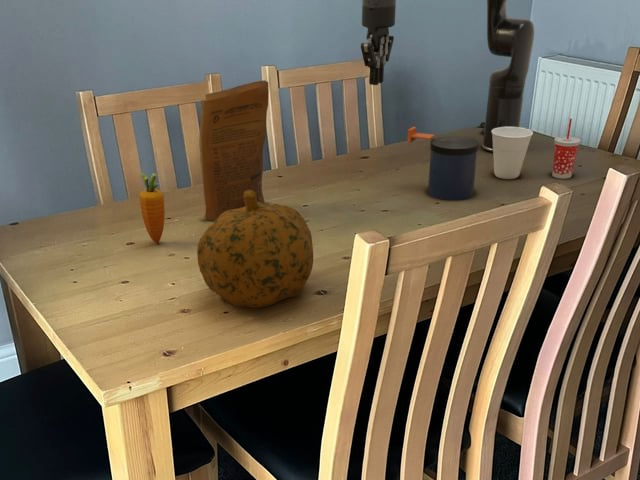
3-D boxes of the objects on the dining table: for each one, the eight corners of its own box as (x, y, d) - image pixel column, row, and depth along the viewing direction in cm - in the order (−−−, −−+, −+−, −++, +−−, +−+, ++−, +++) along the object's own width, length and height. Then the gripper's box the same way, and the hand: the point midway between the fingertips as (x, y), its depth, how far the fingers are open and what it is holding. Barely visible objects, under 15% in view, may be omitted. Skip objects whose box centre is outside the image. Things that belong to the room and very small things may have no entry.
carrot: (142, 241, 167) (133, 171, 159) (165, 237, 168) (157, 167, 160) (148, 249, 163) (139, 178, 155) (171, 245, 164) (164, 174, 156)
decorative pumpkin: (344, 294, 141) (334, 185, 130) (243, 335, 132) (224, 222, 122) (283, 261, 156) (270, 161, 145) (189, 297, 147) (168, 193, 137)
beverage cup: (556, 170, 202) (565, 114, 195) (578, 175, 198) (588, 118, 191) (544, 176, 198) (552, 119, 191) (567, 181, 195) (576, 123, 187)
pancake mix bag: (280, 207, 183) (277, 80, 168) (211, 227, 173) (201, 94, 158) (263, 200, 187) (259, 76, 173) (194, 218, 178) (183, 88, 163)
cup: (531, 181, 195) (537, 136, 189) (490, 182, 195) (495, 137, 189) (521, 169, 203) (527, 126, 198) (483, 170, 204) (487, 126, 198)
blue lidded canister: (419, 196, 188) (423, 145, 181) (437, 182, 196) (440, 133, 189) (464, 203, 183) (469, 151, 176) (480, 189, 191) (485, 139, 184)
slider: (407, 142, 187) (407, 129, 186) (412, 139, 190) (413, 126, 188) (429, 145, 185) (430, 132, 183) (434, 142, 187) (435, 129, 185)
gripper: (376, -1, 185) (374, 77, 194) (350, 6, 175) (348, 87, 184) (406, 0, 182) (402, 79, 191) (381, 7, 172) (378, 90, 181)
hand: (376, 83), depth 188 cm, fingers closed
